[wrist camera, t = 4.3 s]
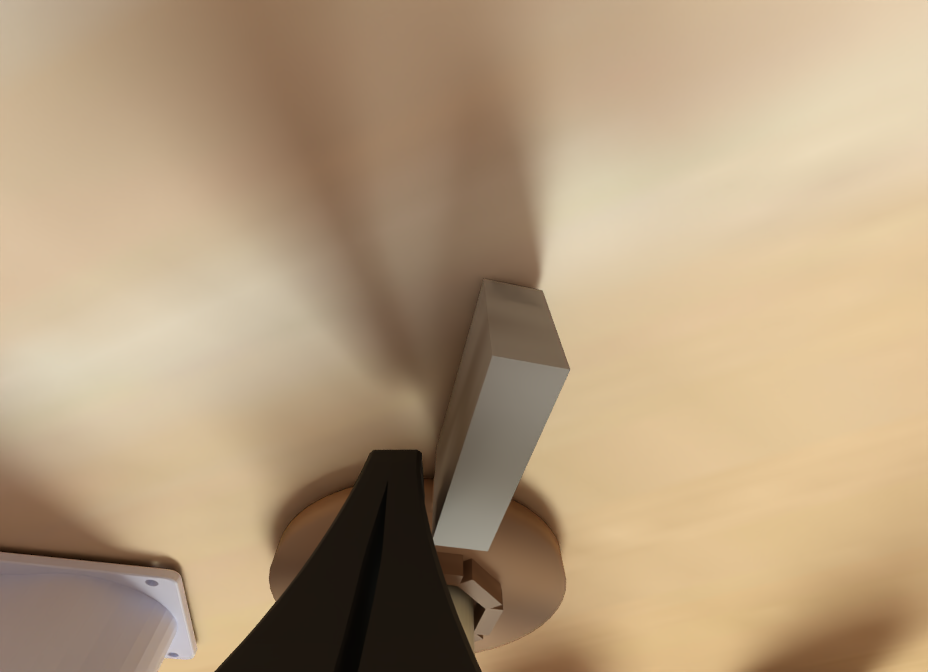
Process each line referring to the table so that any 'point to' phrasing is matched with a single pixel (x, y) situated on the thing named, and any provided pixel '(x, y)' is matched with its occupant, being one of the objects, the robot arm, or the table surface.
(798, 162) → the table surface
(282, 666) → the robot arm
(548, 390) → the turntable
